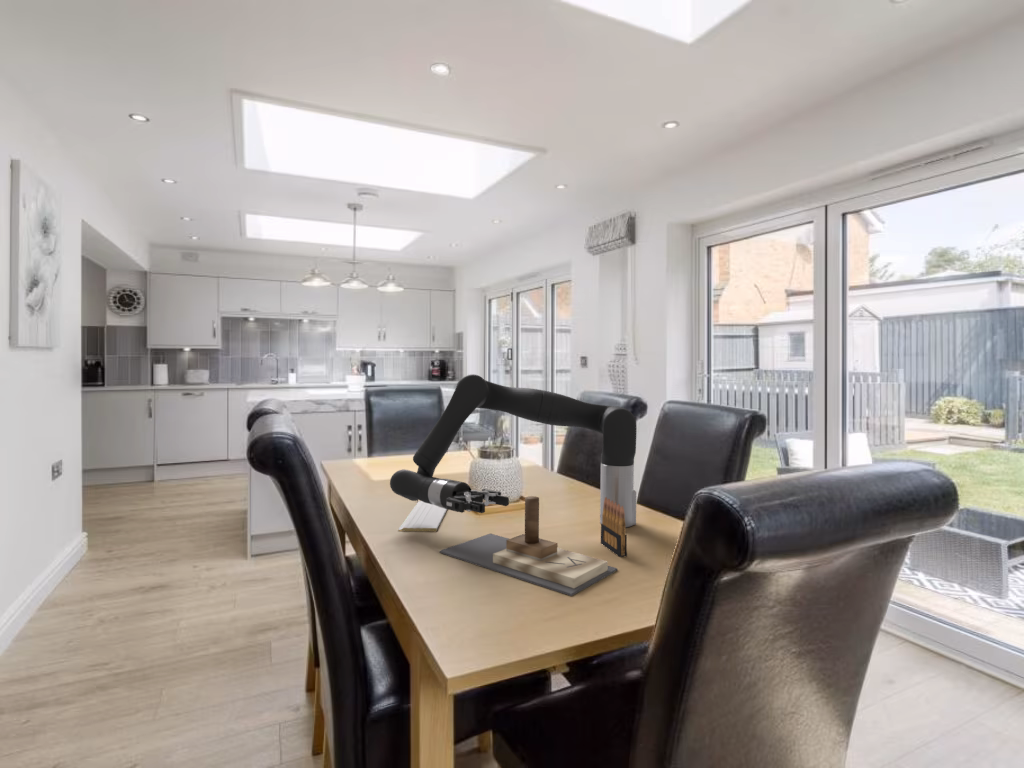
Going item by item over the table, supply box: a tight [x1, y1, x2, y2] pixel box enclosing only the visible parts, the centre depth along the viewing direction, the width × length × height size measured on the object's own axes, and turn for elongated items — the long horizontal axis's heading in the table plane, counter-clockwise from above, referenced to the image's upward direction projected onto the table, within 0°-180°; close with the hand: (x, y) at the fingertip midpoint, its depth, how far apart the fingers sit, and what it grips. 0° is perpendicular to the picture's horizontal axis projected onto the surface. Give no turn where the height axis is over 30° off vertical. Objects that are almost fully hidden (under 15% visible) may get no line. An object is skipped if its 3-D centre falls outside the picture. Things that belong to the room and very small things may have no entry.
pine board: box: [493, 547, 609, 588], centre depth 124 cm, size 22×13×2 cm, turn 50°
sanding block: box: [506, 495, 558, 561], centre depth 127 cm, size 10×6×12 cm, turn 50°
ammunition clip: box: [600, 497, 628, 558], centre depth 137 cm, size 11×2×12 cm, turn 16°
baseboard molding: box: [397, 500, 448, 532], centre depth 167 cm, size 31×3×12 cm
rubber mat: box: [439, 533, 618, 597], centre depth 129 cm, size 38×18×1 cm, turn 50°
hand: (496, 505), depth 134 cm, fingers open, 8 cm apart
